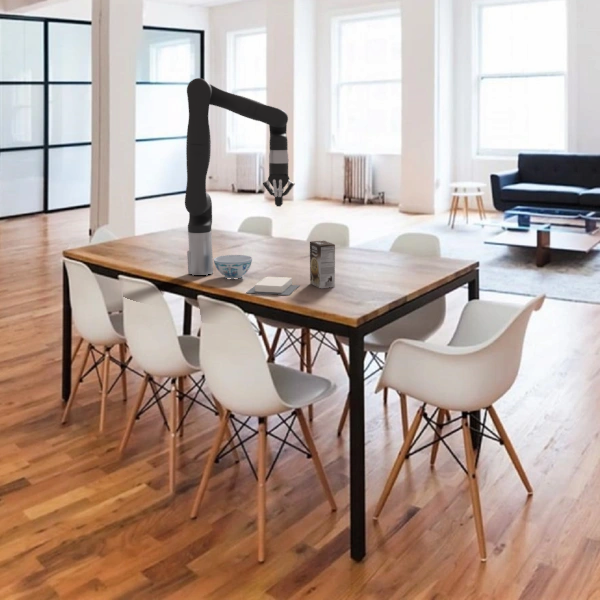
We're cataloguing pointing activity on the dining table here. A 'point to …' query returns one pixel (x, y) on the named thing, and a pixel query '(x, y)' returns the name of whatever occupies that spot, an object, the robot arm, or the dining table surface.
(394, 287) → the dining table surface
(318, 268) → the coffee box
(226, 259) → the chinaware
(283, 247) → the dining table surface
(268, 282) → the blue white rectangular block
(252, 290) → the rubber mat
